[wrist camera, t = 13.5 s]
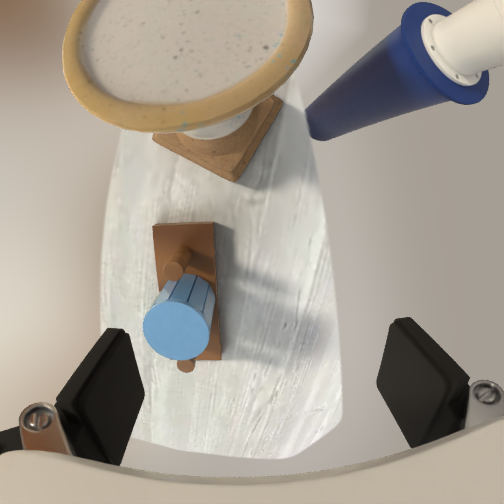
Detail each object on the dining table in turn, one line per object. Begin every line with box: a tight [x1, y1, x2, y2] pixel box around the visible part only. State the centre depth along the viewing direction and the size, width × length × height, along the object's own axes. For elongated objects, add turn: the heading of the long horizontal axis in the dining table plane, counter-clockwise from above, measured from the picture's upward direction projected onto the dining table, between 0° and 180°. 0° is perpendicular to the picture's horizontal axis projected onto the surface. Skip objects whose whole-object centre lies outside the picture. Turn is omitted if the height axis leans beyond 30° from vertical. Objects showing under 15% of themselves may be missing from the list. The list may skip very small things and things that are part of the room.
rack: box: [152, 222, 222, 373], centre depth 32 cm, size 18×7×8 cm, turn 1°
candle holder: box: [62, 0, 314, 182], centre depth 19 cm, size 11×11×24 cm
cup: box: [143, 273, 216, 360], centre depth 30 cm, size 7×7×8 cm
